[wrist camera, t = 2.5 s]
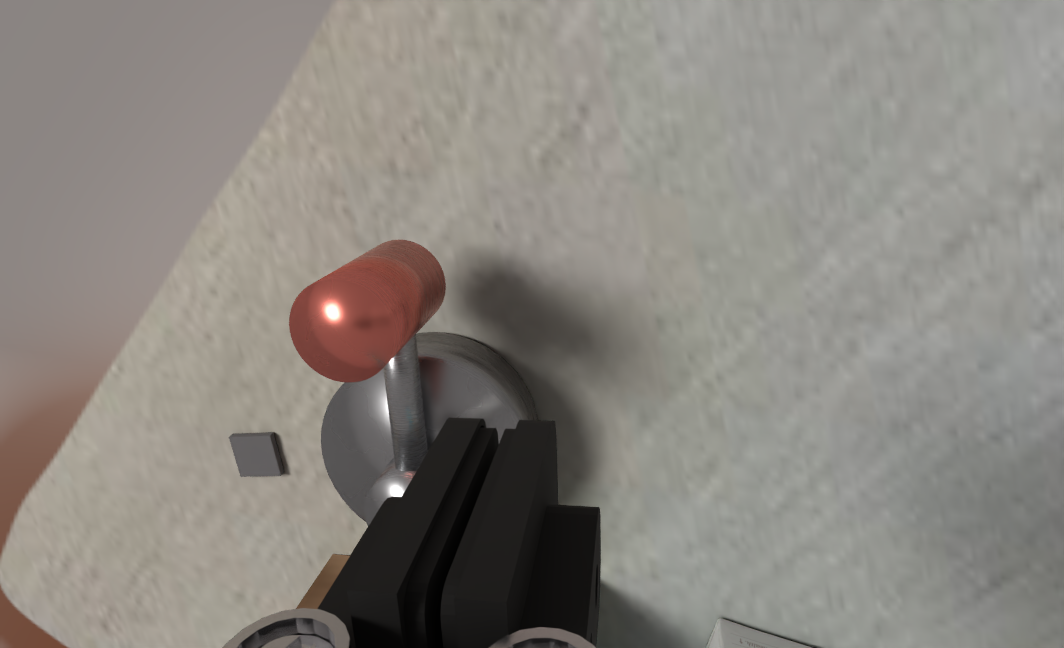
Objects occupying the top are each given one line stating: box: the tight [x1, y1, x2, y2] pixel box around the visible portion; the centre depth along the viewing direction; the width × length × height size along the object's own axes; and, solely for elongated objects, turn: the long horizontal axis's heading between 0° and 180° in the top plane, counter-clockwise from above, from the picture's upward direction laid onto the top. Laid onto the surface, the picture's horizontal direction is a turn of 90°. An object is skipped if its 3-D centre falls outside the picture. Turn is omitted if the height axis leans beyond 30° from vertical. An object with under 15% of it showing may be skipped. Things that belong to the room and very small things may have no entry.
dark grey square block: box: [229, 432, 284, 477], centre depth 30 cm, size 2×2×1 cm
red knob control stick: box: [289, 240, 537, 526], centre depth 23 cm, size 12×8×8 cm, turn 2°
